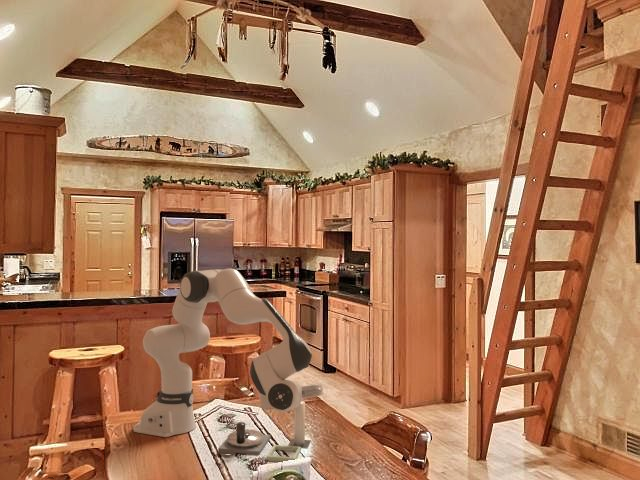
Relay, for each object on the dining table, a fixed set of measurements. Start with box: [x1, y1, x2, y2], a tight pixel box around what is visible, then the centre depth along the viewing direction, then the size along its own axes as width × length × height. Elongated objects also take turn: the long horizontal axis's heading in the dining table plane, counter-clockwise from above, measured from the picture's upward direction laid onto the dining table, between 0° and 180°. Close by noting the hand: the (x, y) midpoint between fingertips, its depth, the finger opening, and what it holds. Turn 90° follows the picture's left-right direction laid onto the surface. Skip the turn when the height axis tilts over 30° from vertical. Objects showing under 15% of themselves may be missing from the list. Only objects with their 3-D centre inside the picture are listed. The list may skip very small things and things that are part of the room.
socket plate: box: [287, 438, 312, 449], centre depth 170 cm, size 7×7×1 cm
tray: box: [266, 444, 302, 462], centre depth 160 cm, size 9×9×2 cm
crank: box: [226, 421, 264, 448], centre depth 168 cm, size 12×12×8 cm
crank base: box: [217, 434, 271, 456], centre depth 168 cm, size 14×14×2 cm
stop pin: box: [293, 400, 306, 446], centre depth 170 cm, size 4×4×14 cm
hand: (293, 393), depth 163 cm, fingers open, 8 cm apart
